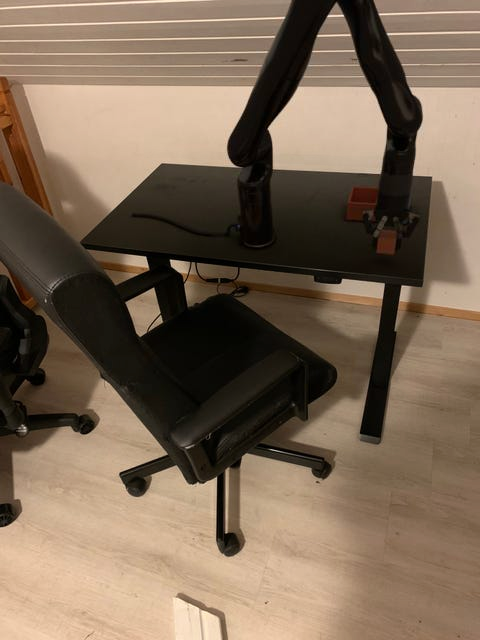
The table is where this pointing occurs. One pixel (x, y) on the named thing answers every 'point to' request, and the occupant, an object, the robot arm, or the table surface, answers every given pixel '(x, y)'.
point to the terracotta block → (386, 242)
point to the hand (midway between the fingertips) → (386, 248)
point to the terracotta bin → (361, 202)
